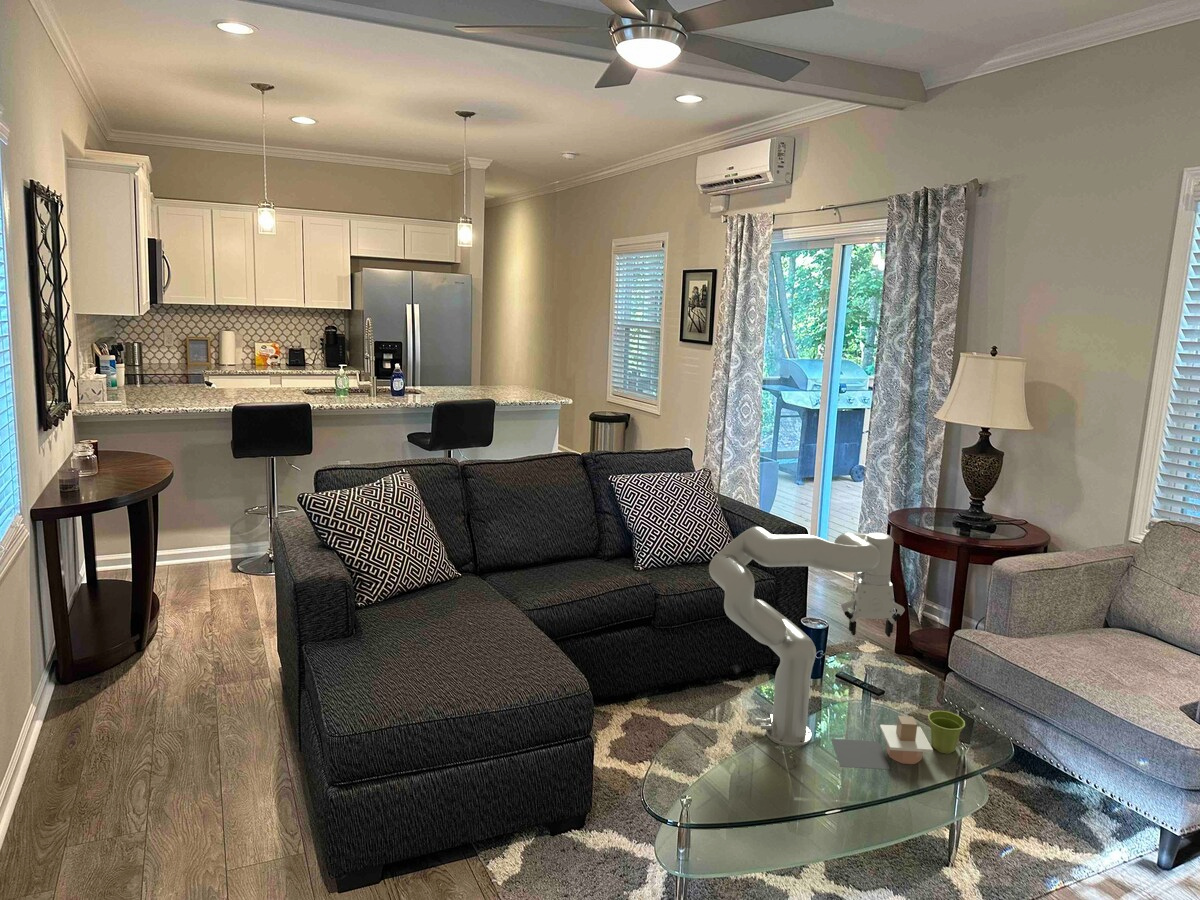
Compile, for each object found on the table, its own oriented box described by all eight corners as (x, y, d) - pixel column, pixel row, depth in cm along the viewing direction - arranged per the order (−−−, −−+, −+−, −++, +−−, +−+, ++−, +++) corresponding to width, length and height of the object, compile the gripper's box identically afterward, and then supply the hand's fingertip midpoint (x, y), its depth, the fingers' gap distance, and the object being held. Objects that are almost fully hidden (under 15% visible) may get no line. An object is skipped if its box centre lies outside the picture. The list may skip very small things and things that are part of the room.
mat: (840, 768, 223) (840, 766, 223) (830, 740, 235) (830, 738, 235) (890, 771, 222) (890, 769, 222) (878, 743, 234) (878, 741, 234)
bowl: (891, 764, 225) (893, 747, 224) (883, 745, 233) (884, 729, 232) (925, 766, 224) (927, 749, 223) (915, 747, 233) (917, 731, 232)
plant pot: (964, 759, 227) (968, 731, 225) (928, 755, 229) (931, 726, 227) (957, 740, 236) (961, 712, 234) (922, 736, 238) (925, 708, 236)
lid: (890, 750, 223) (892, 730, 221) (879, 727, 233) (881, 708, 232) (932, 752, 222) (934, 732, 221) (920, 729, 233) (922, 710, 231)
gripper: (846, 581, 230) (841, 638, 234) (911, 583, 229) (905, 641, 233) (841, 570, 238) (836, 626, 242) (903, 573, 236) (897, 629, 240)
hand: (870, 634), depth 237 cm, fingers open, 9 cm apart
